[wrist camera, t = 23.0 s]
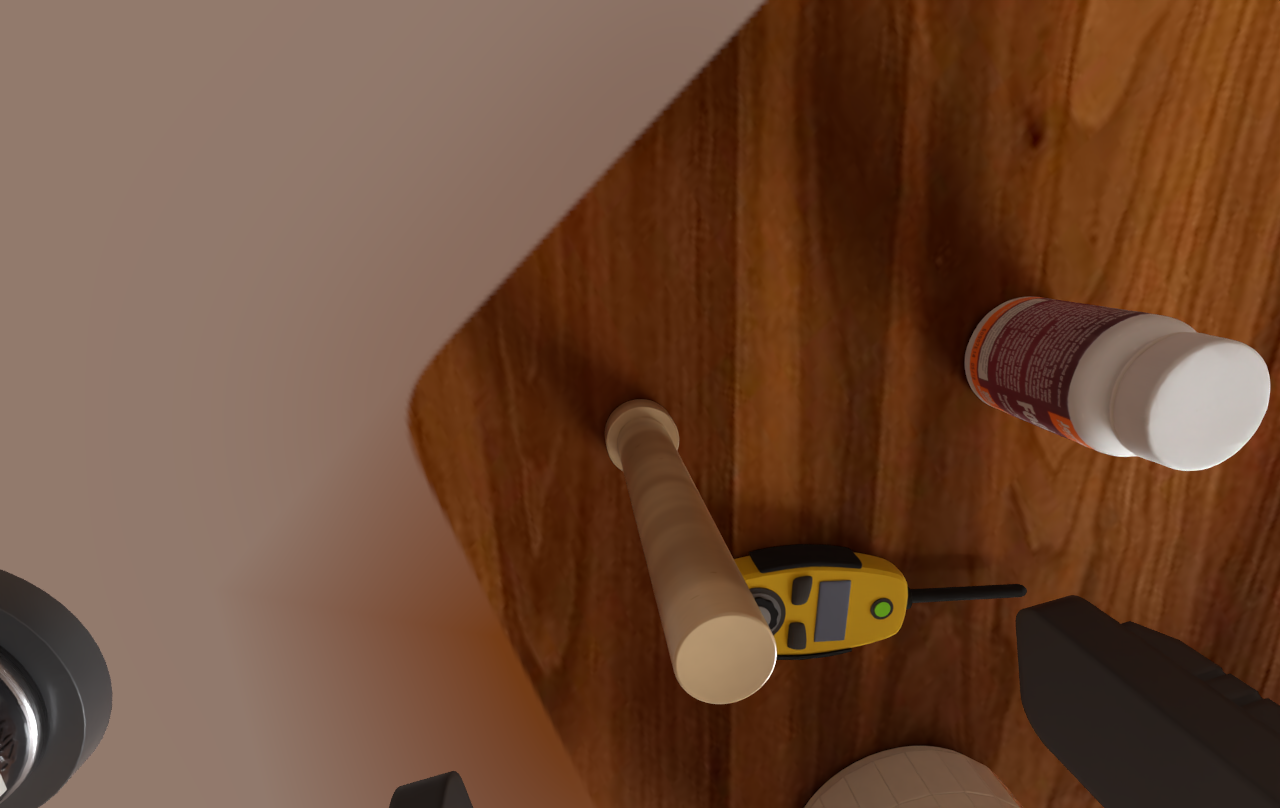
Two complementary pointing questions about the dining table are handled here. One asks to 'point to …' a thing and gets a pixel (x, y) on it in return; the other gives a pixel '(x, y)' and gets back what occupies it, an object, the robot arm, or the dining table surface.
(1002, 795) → the bowl
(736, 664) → the muddler
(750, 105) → the dining table surface
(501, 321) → the dining table surface
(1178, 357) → the pill bottle
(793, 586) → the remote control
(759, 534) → the dining table surface
